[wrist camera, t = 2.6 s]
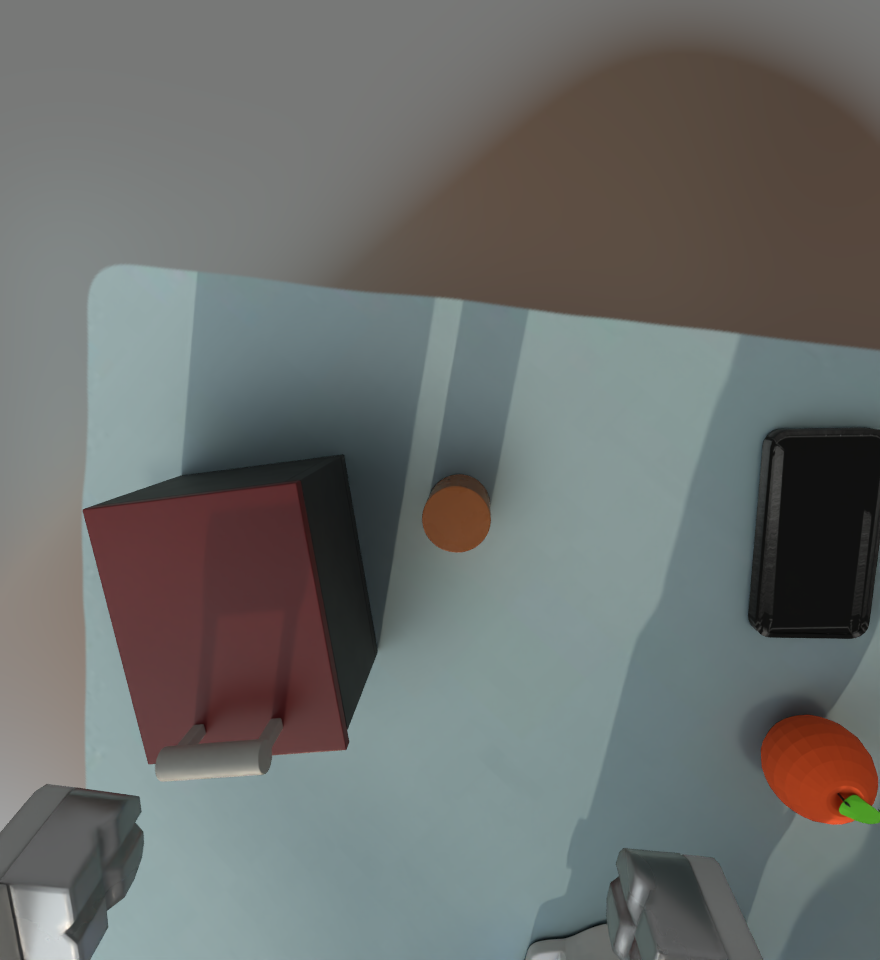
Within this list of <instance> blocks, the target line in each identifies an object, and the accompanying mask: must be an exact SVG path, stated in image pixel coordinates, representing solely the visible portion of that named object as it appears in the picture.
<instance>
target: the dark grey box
mask: <svg viewBox="0 0 880 960" xmlns="http://www.w3.org/2000/svg"><path fill="white" fill-rule="evenodd" d="M297 480H300V481H301V486H302V491H303V497H304V502H305V507H306V513H307V518H308V524H309V529H310V534H311V540H312V545H313V550H314V556H315V561H316V566H317V572H318V577H319V582H320V588H321V593H322V599H323V604H324V609H325V615H326V620H327V625H328V631H329V636H330V641H331V647H332V652H333V657H334V663H335V668H336V673H337V679H338V684H339V690H340V695H341V700H342V706H343V711H344V716H345V722H346V727H347V729H348V727H349V725H350V722H351V719H352V717H353V714H354V712H355V709H356V707H357V704H358V701H359V699H360V696H361V694H362V691H363V688H364V686H365V683H366V681H367V678H368V676H369V673H370V670H371V668H372V665H373V663H374V660H375V657H376V655H377V652H378V650H377V645H376V639H375V633H374V627H373V621H372V615H371V610H370V604H369V598H368V592H367V586H366V580H365V575H364V569H363V563H362V557H361V551H360V545H359V540H358V534H357V528H356V522H355V516H354V510H353V505H352V499H351V493H350V487H349V481H348V475H347V470H346V464H345V458H344V455H336V456H328V457H321V458H313V459H305V460H298V461H290V462H282V463H275V464H267V465H259V466H251V467H244V468H236V469H228V470H221V471H213V472H205V473H198V474H190V475H182V476H178V477H175V478H172V479H170V480H167V481H164V482H161V483H158V484H155V485H152V486H149V487H146V488H143V489H140V490H137V491H135V492H132V493H129V494H126V495H123V496H120V497H117V498H114V499H111V500H108V501H105V502H102V503H100V504H97V505H94V506H98V505H106V504H114V503H122V502H130V501H138V500H146V499H154V498H162V497H170V496H178V495H186V494H194V493H202V492H210V491H217V490H225V489H233V488H241V487H249V486H257V485H265V484H273V483H281V482H289V481H297Z"/></svg>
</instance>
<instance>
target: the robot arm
mask: <svg viewBox="0 0 880 960" xmlns="http://www.w3.org/2000/svg"><path fill="white" fill-rule="evenodd" d="M141 812H142V811H141V804H140V797H139V796H133V795H126V794H119V793H112V792H104V791H97V790H90V789H83V788H75V787H66V786H59V785H50V784H46V785H45V786H43V787H41V788H40V789H38V790H37V791H36V792H34V793H33V795H32V796H31V797H30V798H29V799H28V800H27V802H26V803H25V804H24V805H23V806H22V808H21V809H20V810H19V811H18V812H17V813H16V815H15V816H14V817H13V818H12V820H10V822H9V823H8V824H7V825H6V826H5V828H4V829H3V830H2V831H1V832H0V960H90V959H91V957H92V955H93V954H94V952H95V950H96V948H97V946H98V945H99V943H100V941H101V939H102V937H103V936H104V934H105V932H106V930H107V928H108V919H107V910H109V909H110V908H111V907H112V906H114V905H115V904H116V903H118V902H119V901H120V900H122V899H123V898H124V897H125V896H126V894H127V892H128V890H129V888H130V886H131V884H132V882H133V881H134V879H135V876H136V873H137V870H138V867H139V864H140V862H141V859H142V853H143V846H144V835H143V831H142V830H141V828H140V827H139V826H138V825H137V824H136V823H135V822H136V820H137V818H138V817H139V815H140V813H141ZM616 866H617V870H618V874H619V877H617V878H616V879H615V880H613V881H612V882H611V883H610V886H609V890H608V894H607V909H606V918H607V924H603V925H599V926H595V927H592V928H590V929H587V930H585V931H583V932H580V933H578V934H576V935H574V936H571V937H568V938H565V939H551V940H543V941H538V942H535V943H533V944H532V945H531V946H530V947H529V949H528V952H527V955H526V959H525V960H763V958H762V956H761V954H760V951H759V949H758V947H757V945H756V943H755V941H754V938H753V936H752V934H751V932H750V930H749V928H748V925H747V923H746V921H745V919H744V917H743V914H742V912H741V910H740V908H739V906H738V904H737V901H736V899H735V897H734V895H733V893H732V891H731V888H730V886H729V884H728V882H727V880H726V877H725V875H724V873H723V871H722V869H721V867H720V864H719V863H718V862H717V861H716V860H715V859H714V858H711V857H702V856H693V855H681V854H680V853H671V852H660V851H650V850H639V849H628V848H623V849H622V850H621V851H620V852H619V855H618V858H617V861H616Z"/></svg>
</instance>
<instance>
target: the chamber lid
mask: <svg viewBox="0 0 880 960" xmlns="http://www.w3.org/2000/svg"><path fill="white" fill-rule="evenodd" d="M83 514H84V518H85V521H86V525H87V529H88V533H89V537H90V541H91V545H92V548H93V552H94V556H95V560H96V564H97V568H98V572H99V575H100V579H101V583H102V587H103V591H104V595H105V599H106V602H107V606H108V610H109V614H110V618H111V622H112V626H113V629H114V633H115V637H116V641H117V645H118V649H119V653H120V657H121V660H122V664H123V668H124V672H125V676H126V680H127V684H128V687H129V691H130V695H131V699H132V703H133V707H134V711H135V714H136V718H137V722H138V726H139V730H140V734H141V738H142V741H143V745H144V749H145V753H146V757H147V761H148V764H156V765H155V772H156V776H157V778H158V780H160V781H162V782H164V781H178V780H193V779H207V778H221V777H236V776H250V775H264V774H266V773H267V772H268V770H269V768H270V765H271V760H272V755H283V754H297V753H310V752H324V751H338V750H346V749H347V747H348V744H349V738H348V732H347V727H346V722H345V716H344V711H343V706H342V700H341V695H340V690H339V684H338V679H337V673H336V668H335V663H334V657H333V652H332V647H331V641H330V636H329V631H328V625H327V620H326V615H325V609H324V604H323V599H322V593H321V588H320V582H319V577H318V572H317V566H316V561H315V556H314V550H313V545H312V540H311V534H310V529H309V524H308V518H307V513H306V507H305V502H304V497H303V491H302V486H301V481H300V480H297V481H289V482H281V483H273V484H265V485H257V486H249V487H241V488H233V489H225V490H217V491H210V492H202V493H194V494H186V495H178V496H170V497H162V498H154V499H146V500H138V501H130V502H122V503H114V504H106V505H98V506H91V507H88V508H85V509H83Z"/></svg>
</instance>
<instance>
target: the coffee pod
mask: <svg viewBox="0 0 880 960" xmlns="http://www.w3.org/2000/svg"><path fill="white" fill-rule="evenodd" d="M422 523H423V528H424V530H425V533H426V535H427V536H428V538H429V539H430V540H431V541H432V543H434V544H435V545H436V546H438V547H439V548H441V549H443V550H446V551H449V552H465V551H468V550H471V549H473V548H475V547H476V546H478V545H479V544H480V543H481V542H482V541H483V540H484V539H485V537H486V536H487V534H488V531H489V528H490V523H491V512H490V498H489V495H488V492H487V490H486V489H485V487H484V486H483V485H482V484H481V483H480V482H479V481H478V480H476V479H475V478H473V477H470V476H468V475H462V474H457V475H451V476H448V477H445V478H443V479H442V480H440V481H439V482H438V483H437V484H436V485H435V486H434V488H433V489H432V491H431V494H430V496H429V498H428V500H427V502H426V505H425V507H424V510H423V514H422Z"/></svg>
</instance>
